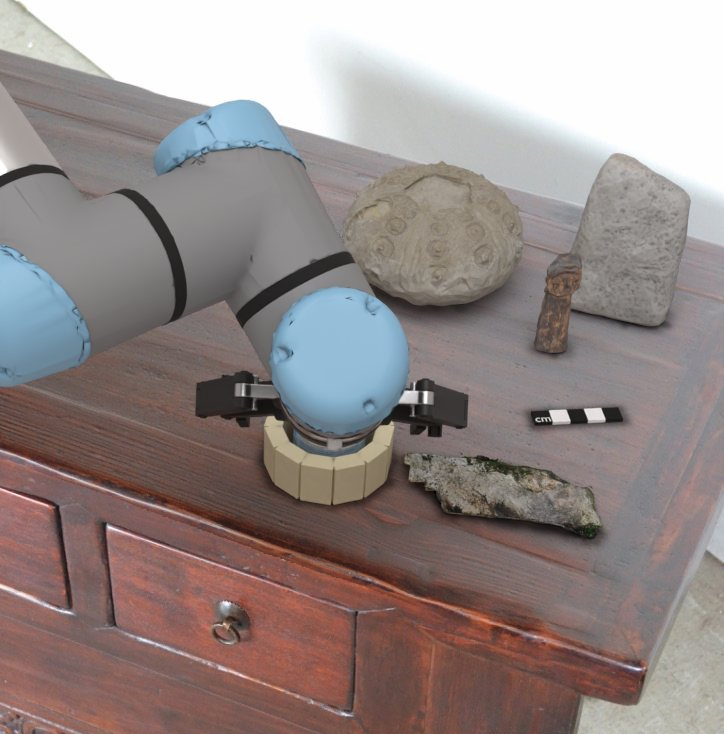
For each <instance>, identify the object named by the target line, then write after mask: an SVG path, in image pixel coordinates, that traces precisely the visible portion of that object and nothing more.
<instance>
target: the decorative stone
mask: <svg viewBox="0 0 724 734" xmlns="http://www.w3.org/2000/svg"><path fill="white" fill-rule="evenodd" d="M691 203H692V200H691V197H690V195H689V193H688V192H687V191H686V190H685V189H684V188H683V187H681V186H680V185H679V184H676V183H675V182H673V181H672V180H670V179H669V178H667V177H666V176H664V175H662V174H659V173H657V172H656V171H654V170H652V168H650V167H648V166H647V165H646V164H644V163H642V162H641V161H639V160H638V159H637V158H635V157H633V156H631V155H628V154H624V153H620V152H614V153H612V154H610V156H609V157H608V158H607V159H606V160H605V162H604V163H603V164H602V166H601V167H600V169H599V170H598V173H597V175H596V178H595V179H594V181H593V183H592V185H591V187H590V190H589V193H588V196H587V199H586V203H585V204H584V205H585V206H584V209H583V213H582V215H581V218H580V222H579V225H578V229H577V232H576V235H575V238H574V240H573V243H572V246H571V249H570V252H569V253H572V254H575V253H577V254H579V255H580V256H581V258H582V265H583V266H582V279H581V282H580V287H579V289H578V290H576V291H575V293H574V294H572V297H571V310H575V311H578V312H582V313H586V314H591V315H596V316H601V317H606V318H609V319H613V320H616V321H617V320H618V321H620V322H621V321H622V322H627V323H633V324H636V325H641V326H645V327H658V326H660V325H661V324H662V323H664V322H665V321H666V318H667V314H668V312H669V309H670V308H671V307H670V306H671V305H672V303H673V300H674V297H675V292H676V288H677V287H676V286H677V280H678V274H679V269H680V264H681V260H682V256H683V254H684V250H685V246H686V242H687V236H688V227H689V217H690V208H691Z"/></svg>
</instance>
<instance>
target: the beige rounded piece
mask: <svg viewBox="0 0 724 734" xmlns="http://www.w3.org/2000/svg"><path fill="white" fill-rule="evenodd" d="M355 195H356V197H355V199H354V200H353V202H352V203H351V204H350V205H349V206H348V209H347V213H346V217H345V219H344V226H343V230H342V235H341V240H342V242H343V244H344V246H345V248H346V249H347V251H348V252H350V254H351V255H352V257H353V259H354V261H355V263H356V264H358V266H359V267H360V269H361V271H362V273H363V274H364V276H365V278H366V280H367V282H368V284H369V285H370V284H371V285H372V286H375V287H377V288H379V290H381V291H383V292H385V293H387V294H388V295H390V297H393V298H400V299H403V300H405V301H406V302H408V303H410V304H411V305H413V306H418V307H420V306H437V307H446V306H450V305H452V306H453V305H466V304H469V303H471V302H474V301H476V300H480V299H481V298H483V297H486V296H487V295H490V294H491V293H493V292H495V291H497V290H498V289H500V288H501V287H503V286H505V284H506V282H507V281H508V280H509V279H511V277H512V276H513V274H514V273H515V271H516V269H517V268H518V267H519V265H520V263H521V260H522V259H523V252H524V249H525V248H524V247H525V246H524V245H525V244H524V226H523V220H522V217H521V216H520V214H519V210H520V209H519V208H520V207H519V205H518V204H517V205H516V204H514V203H513V202H512V201H511V199H510V198H509V196H508V195H507V194H506V191H504V190H502V189H500V188H499V187H498V186H497V185H495V183H492V182H491V181H490V179H489V180H488V179H487V178H486V177H485V175H484V174H483V173H481V174H477V172H476V173H475V172H474V171H472V170H470V169H467V168H465V167H460V166H457V165H453V164H447V163H446V162H445V161H444V160H440V161H439V162H438V163H428V164H423V163H422V164H416V165H405V166H404V167H402V168H401V167H398V166H394V167H393V168H392V169H391V171H388V172H386V173H384V174H382V175H381V176H379V177H378V178H376V179H375V180H373V181H372V182H371V183H369V184H368V185H367V186H365V187H364V188H363V190H357V191H356V193H355Z"/></svg>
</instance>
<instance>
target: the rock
mask: <svg viewBox="0 0 724 734" xmlns="http://www.w3.org/2000/svg"><path fill="white" fill-rule="evenodd" d="M458 453H459V454H460V455H461V456H462V457H458V456H447V455H446V456H445V455H441V454H440V455H439V454H428V453H423V452H422V453H421V452H419V453H413V452H406V451H405V452H404V459H403V464H405V465H408V466H409V473H408V480H407V481H408V482H410V483H411V482H413V483H423V486H424V490H425V492H426V491H427V492H432V491H433V492H434V491H435V493H436V498H437V500H438V502H440V503H441V504H440V507H441V508H442V510H443V512H444V513H446V514H450V515H451V514H452V515H462V516H467V517H478V518H489V519H490V518H491V519H505V520H517V521H526V522H531V523H535V524H540V525H541V524H543V525H549V526H558V527H562V528H563V529H565V530H567V531H568V532H573V533H575V534H577V535H578V536H583V538H588V539H595V538H596V537H597V535H598V534H597V532H599V530H600V531H601V529H603V528H604V524H603V523H602V519H601V516H600V515H599V513H598V512H597V510H596V509H597V508H596V506H595V498H596V497H595V494H594V493H593V491H592V489H593V487H592V486H591V485H588V487H587V486H584V487H583V486H579V485H576V484H575V485H574V484H573V483H571V482H568V481H567V480H564V479H562V478H561V477H559V476H558V475H557V474H556V473H555V472H553V470H550V469H545V468H543V469H541V468H536V467H531V466H529V465H513V464H511V463H506V462H504V461H502V458H500V459H499V458H498V457H497V458H496V459H495V458H490V457H488V456H485V455H481V454H477V455H476V456H474V457H473V456H470V454H468V456H465V455H464V456H463V453H462V452H458ZM483 454H485V453H484V452H483ZM590 488H591V489H590ZM598 528H601V529H599V530H598Z"/></svg>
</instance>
